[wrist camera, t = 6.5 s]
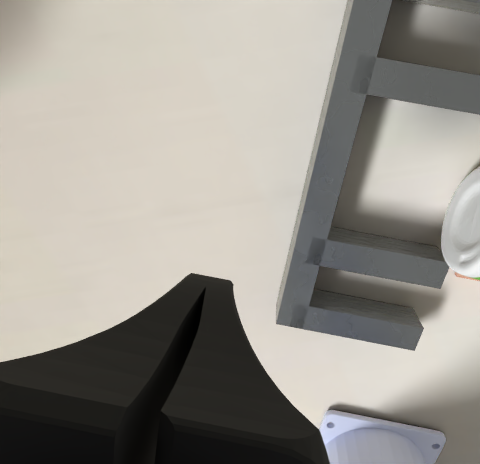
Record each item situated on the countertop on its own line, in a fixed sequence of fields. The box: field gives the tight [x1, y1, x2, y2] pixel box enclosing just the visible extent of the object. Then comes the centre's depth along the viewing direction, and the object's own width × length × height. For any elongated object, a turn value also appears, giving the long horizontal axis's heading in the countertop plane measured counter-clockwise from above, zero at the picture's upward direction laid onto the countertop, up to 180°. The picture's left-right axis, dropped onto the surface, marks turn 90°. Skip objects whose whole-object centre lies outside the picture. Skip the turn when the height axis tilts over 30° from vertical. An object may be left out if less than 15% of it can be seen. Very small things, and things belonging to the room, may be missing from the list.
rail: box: [276, 0, 480, 351], centre depth 20 cm, size 18×8×2 cm, turn 171°
